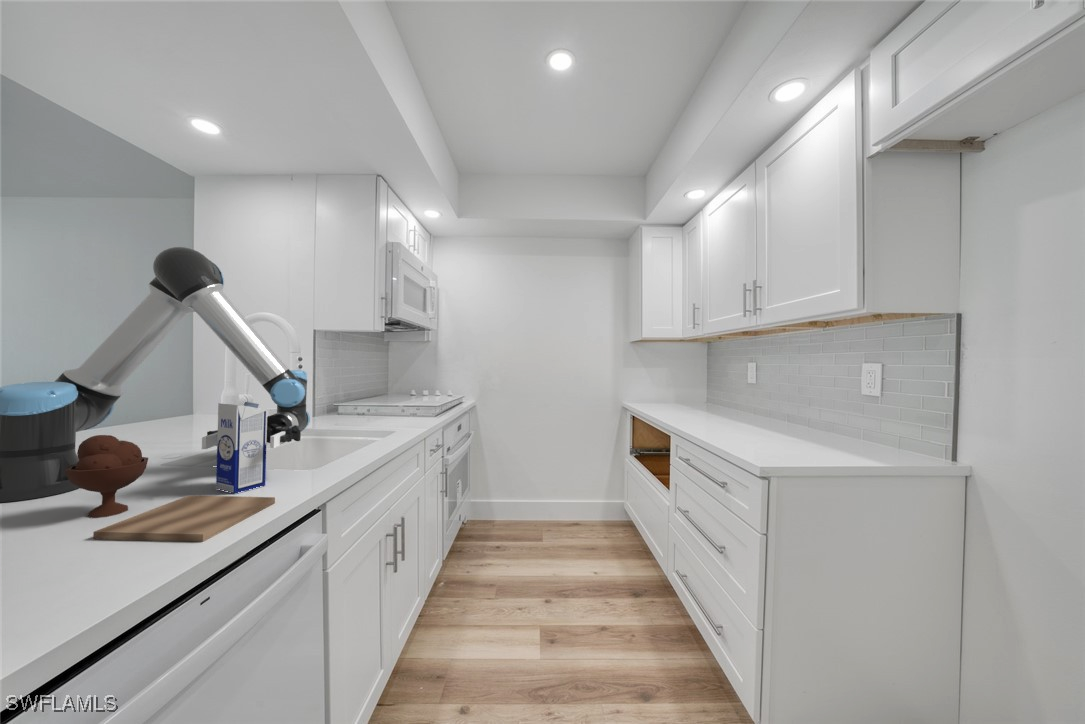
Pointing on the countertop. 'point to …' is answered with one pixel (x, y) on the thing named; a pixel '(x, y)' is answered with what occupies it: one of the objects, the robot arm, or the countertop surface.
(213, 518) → the walnut board
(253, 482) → the milk carton
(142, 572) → the countertop surface
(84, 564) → the countertop surface
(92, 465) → the ice cream bowl
